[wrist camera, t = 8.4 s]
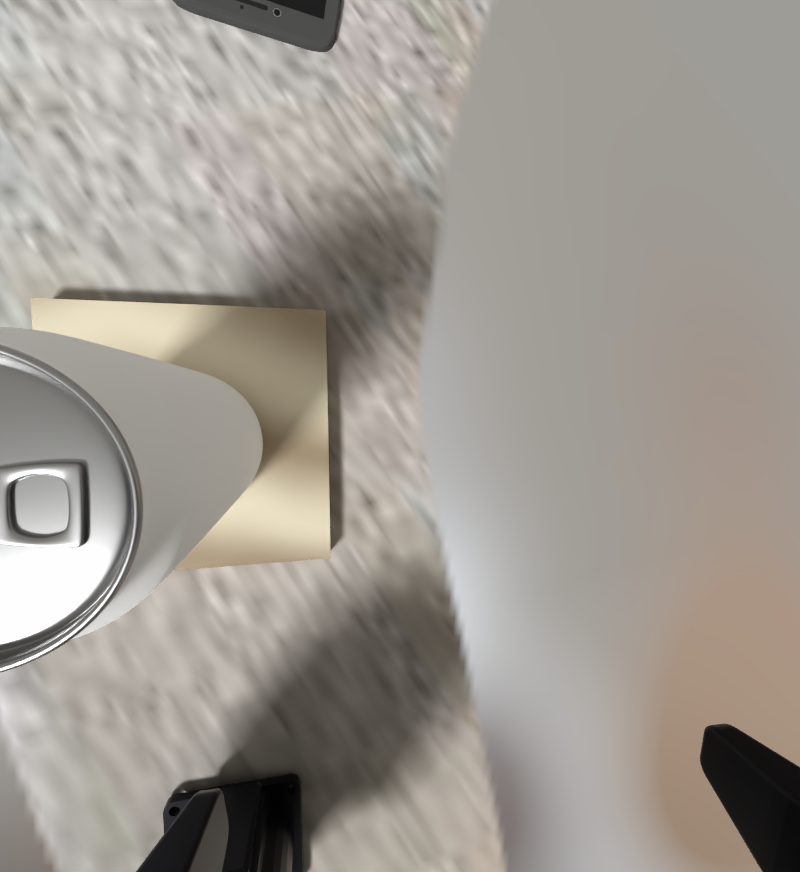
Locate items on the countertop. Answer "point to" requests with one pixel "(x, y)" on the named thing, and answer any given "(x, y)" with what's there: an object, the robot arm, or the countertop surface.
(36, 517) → the can
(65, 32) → the countertop surface
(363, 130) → the countertop surface
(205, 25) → the countertop surface
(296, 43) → the cell phone
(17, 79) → the countertop surface
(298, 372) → the coaster
